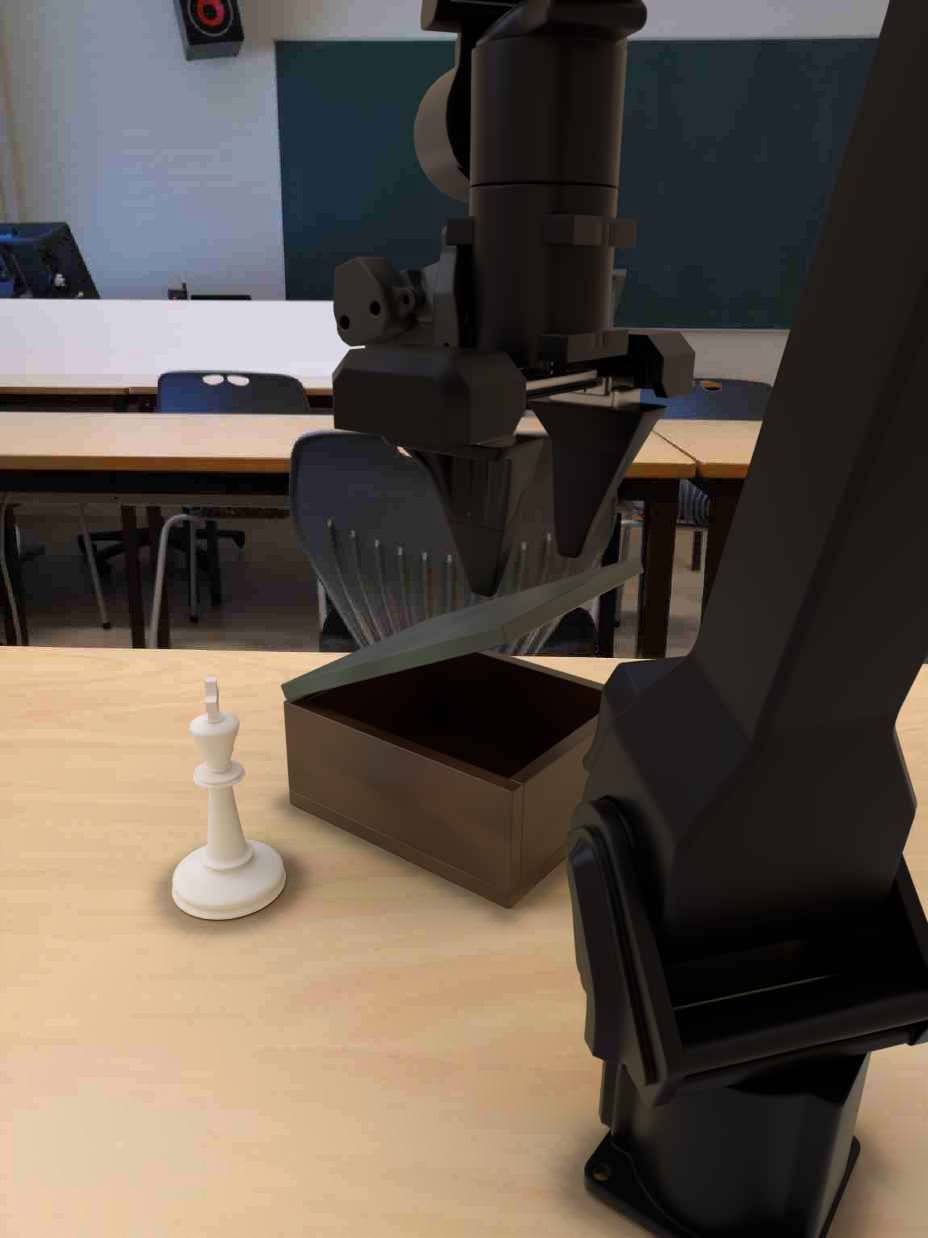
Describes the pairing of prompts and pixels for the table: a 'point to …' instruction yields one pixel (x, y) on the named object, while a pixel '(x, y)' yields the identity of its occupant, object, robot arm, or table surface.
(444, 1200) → the table surface
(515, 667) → the wooden box
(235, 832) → the chess piece
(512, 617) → the box lid
